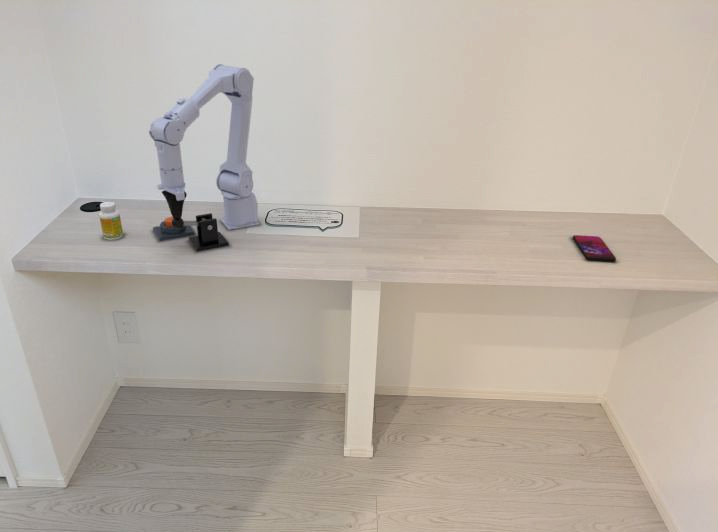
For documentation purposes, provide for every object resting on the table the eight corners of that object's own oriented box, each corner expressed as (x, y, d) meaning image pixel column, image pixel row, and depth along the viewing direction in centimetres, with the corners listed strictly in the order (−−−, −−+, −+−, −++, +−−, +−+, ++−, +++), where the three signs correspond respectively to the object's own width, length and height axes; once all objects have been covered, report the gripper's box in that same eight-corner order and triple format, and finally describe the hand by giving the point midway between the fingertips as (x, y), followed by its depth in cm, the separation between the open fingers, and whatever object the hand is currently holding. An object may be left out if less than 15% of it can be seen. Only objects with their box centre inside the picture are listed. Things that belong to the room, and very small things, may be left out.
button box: (187, 225, 171) (186, 215, 169) (194, 235, 165) (193, 225, 163) (153, 231, 167) (151, 221, 165) (159, 241, 161) (158, 231, 159)
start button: (177, 221, 167) (177, 215, 166) (181, 226, 164) (180, 220, 163) (164, 223, 165) (163, 217, 164) (167, 228, 162) (166, 223, 161)
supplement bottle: (117, 241, 161) (111, 208, 156) (99, 239, 162) (93, 206, 157) (126, 233, 165) (121, 201, 160) (109, 231, 166) (103, 199, 161)
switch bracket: (196, 252, 155) (194, 225, 151) (188, 241, 162) (185, 215, 158) (228, 246, 159) (226, 220, 155) (219, 235, 165) (217, 209, 161)
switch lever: (172, 230, 152) (173, 219, 151) (169, 226, 154) (170, 214, 153) (212, 231, 157) (214, 220, 156) (209, 227, 160) (210, 216, 158)
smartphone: (599, 236, 165) (617, 259, 152) (599, 239, 166) (616, 262, 153) (572, 234, 166) (587, 257, 153) (571, 237, 166) (586, 260, 153)
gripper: (148, 161, 149) (155, 210, 156) (161, 177, 138) (168, 229, 145) (175, 157, 152) (181, 206, 159) (190, 174, 141) (196, 225, 148)
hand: (177, 217), depth 152 cm, fingers closed
